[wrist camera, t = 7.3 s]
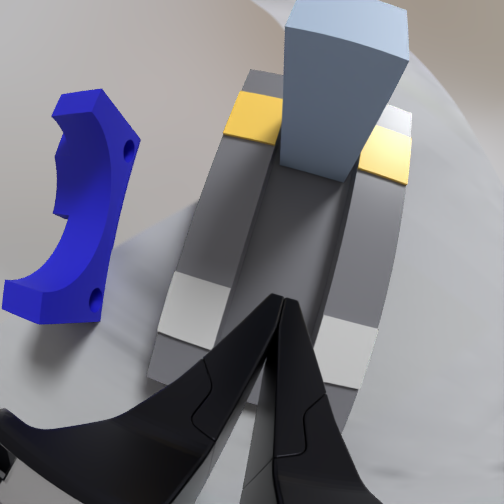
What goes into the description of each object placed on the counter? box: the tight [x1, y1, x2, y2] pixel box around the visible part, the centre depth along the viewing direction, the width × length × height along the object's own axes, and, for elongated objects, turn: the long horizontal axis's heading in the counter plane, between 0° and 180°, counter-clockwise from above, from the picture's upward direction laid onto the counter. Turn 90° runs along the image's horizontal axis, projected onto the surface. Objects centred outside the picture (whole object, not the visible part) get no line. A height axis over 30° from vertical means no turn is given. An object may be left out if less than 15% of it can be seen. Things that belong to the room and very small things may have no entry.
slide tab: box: [280, 0, 409, 183], centre depth 12 cm, size 3×4×10 cm
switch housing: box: [146, 69, 412, 434], centre depth 16 cm, size 18×10×3 cm, turn 163°
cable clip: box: [2, 89, 141, 325], centre depth 15 cm, size 12×4×6 cm, turn 171°
